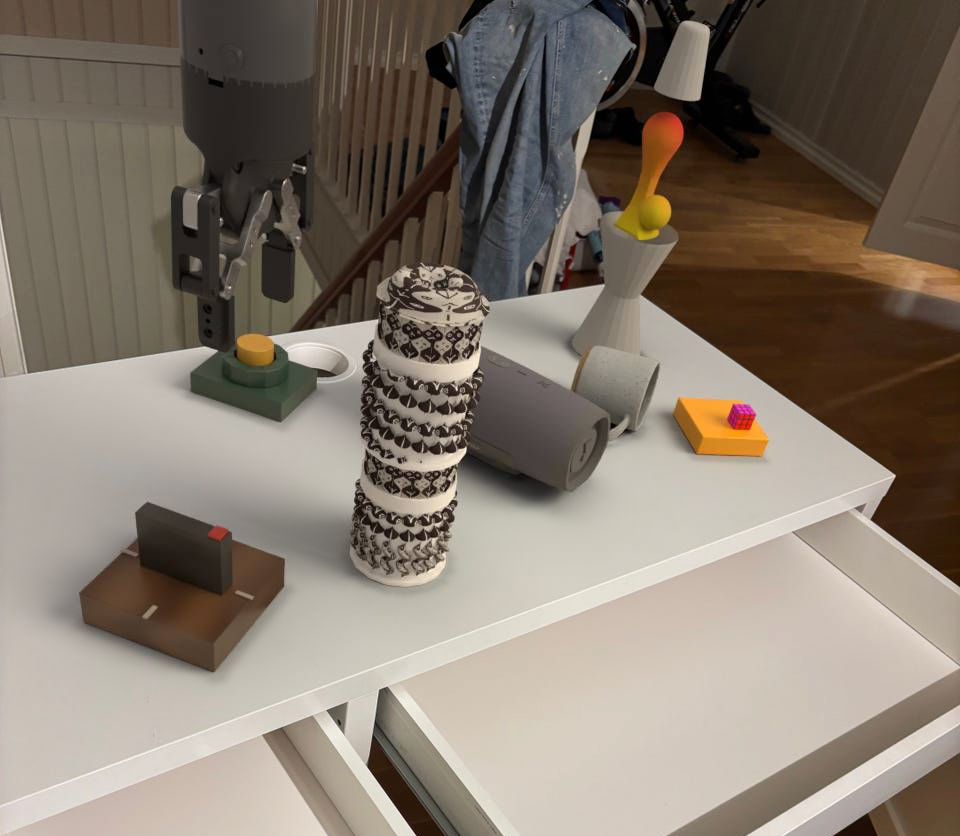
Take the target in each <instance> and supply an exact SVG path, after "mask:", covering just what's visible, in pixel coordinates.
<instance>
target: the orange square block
mask: <svg viewBox="0 0 960 836" xmlns="http://www.w3.org/2000/svg"><path fill="white" fill-rule="evenodd" d="M672 415H673V417H674V418H675V421H676V422H677V424H678V425H679V427H680V429H681V431H682V433H684V435H685V437H686V439H687V440H688V442H689V443H690V445H691V447H692V448H693V450H694V452H695V454H696V455H716V456H717V455H719V456H745V457H746V456H747V457H748V456H749V457H750V456H751V457H762V456H763V455H764V453H765V450H766V448H767V446H768V444H769V441H770V438H769V437H768V435H767V434H766V432H765V431H764V430H763V428H762V426H761V425H760V424H759V423H758V421H757V420H756V419H755V418H756V416H757V413H756V412H755V410H754V409H753V408H752V406H751V404H745V402H744V401H743V400H742V399H741V400H740V399H739V400H738V399H722V398H721V399H720V398H719V399H718V398H699V397H678V398H677V401H676V404H675V406H674V410H673V412H672Z"/></svg>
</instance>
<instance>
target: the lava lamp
mask: <svg viewBox="0 0 960 836" xmlns="http://www.w3.org/2000/svg"><path fill="white" fill-rule="evenodd" d="M710 35H711V31H710V28H709V27H708V25H705V24H703V23H701V22H698V21H693V20H684V21H682V22H681V23H680V24H679V26H678V27H677V30H676V32H675V35H674V37H673V39H672V42H671V45H670V47H669V49H668V51H667V53H666V56H665V58H664V61H663V64H662V66H661V68H660V71H659V74H658V76H657V79H656V81H655V83H654V86H653V89H654V90H655V91H656V92H657V93H659V94H661V95H663V96H666V97H668V98H672V99H674V100H676V99H677V100H679V101H680V100H681V101H687V102H696V101H700V100H701V96H702V89H703V82H704V77H705V76H704V75H705V69H706V64H707V63H706V62H707V56H708V50H709V43H710V37H711V36H710ZM641 133H642V136H641V142H642V143H641V146H642V149H641V150H642V151H641V152H642V154H641V155H642V156H641V157H642V161H641V162H642V163H641V173H640V175H639V178H638V183H637V186H636V189H635V192H634V193H633V195H632V198H631V200H630V202H629V204H627V207H626V208H625V209H624V210H620V211H619V210H618V211H617V210H616V211H609V212H607V213H604V214H602V216H601V217H600V235H601V251H602V266H603V280H604V287H603V288H602V290H601V292H600V293H599V295H598V297H597V298H596V300H595V302H594V303H593V305H592V307H591V308H590V310H589V311H588V313H587V315H586V316H585V318H584V320H583V321H582V323H581V325H580V326H579V327H578V329H577V331H576V333H575V334H574V336H573V337H572V339H571V347H572V348H573V349H574V352H576V353H577V354H578V355H579V356H580V357H582V355H583V354H584V352H585V351H586V350H587V349H588V348H589V347H591V346H604V347H609V348H613V349H616V350H620V351H624V352H628V353H632V354H636V355H640V356H641V315H640V314H641V307H640V306H641V305H640V304H641V303H640V296H641V295H642V293H643V292H644V290H645V289H646V287H647V286H648V284H649V283H650V281H651V280H652V278H653V277H654V276H655V274H656V273H657V271H658V270H659V268H660V267H661V266H662V264H663V263H664V261H665V260H666V258H667V257H668V255H669V254H670V253H671V252H672V250H673V248H674V247H675V246H676V244H677V243H678V240H679V233H678V231H677V230H676V229H675V228H674V227H673V226H671V225H670V224H668V223H669V221H670V219H671V217H672V207H671V204H670V201H669V200H668V199H667V198H666V197H664V196H662V195H660V194H655V191H656V188H657V186H658V182H659V179H660V177H661V175H662V174H663V172H664V170H665V168H666V166H667V165H668V163H669V162H670V160H671V159H672V158H673V156H674V155H675V154H676V153H677V151H678V149H679V148H680V146H681V145H682V142H683V140H684V126H683V123H682V121H681V119H680V118H679V117H678V116H677V115H676V114H674V113H672V112H670V111H669V112H668V111H660V112H657V113H655V114H653V115H652V116H651V117H649V118H648V120H647V121H646V122H645V123H644V126H643V128H642V132H641Z"/></svg>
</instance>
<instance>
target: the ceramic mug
mask: <svg viewBox="0 0 960 836" xmlns="http://www.w3.org/2000/svg"><path fill="white" fill-rule="evenodd" d="M580 357H581V358H580V360H579V362H578V365H577V367H576V369H575V372H574V375H573V379H572V382H571V388H570V390H571V391H572V392H574V393H576V394H578V395H580V396H582V397H583V398H585V399H587V400H589V401H591V402H592V403H594V404H595V405H597V406H598V407H600V408H601V409H603V410H604V411H606V412H607V413H609V414H610V419H611V424H613V425H615V427H614V428H611V429H610V435H609V441H608V443H609V442H612V441H613V440H615V439H617V438H618V437H619V436H620V435H621V434H622V433H623V432H624V430H626V429H627V430H630V431H633V432H637V431H639V429H640V427H641V426H642V424H643V422H644V420H645V418H646V415H647V413H648V411H649V408H650V406H651V403H652V401H653V397H654V394H655V390H656V387H657V383H658V379H659V376H660V372H661V361H660V360H659V359H657V358H653V357H648V356H644V355H641V354H640V355H636V354H632V353H628V352H624V351H620V350H616V349H613V348H609V347H604V346H591V347H589V348H588V349H587V350H586V351H585V352H584V354H583V355H582V356H580Z"/></svg>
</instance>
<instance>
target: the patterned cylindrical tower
mask: <svg viewBox="0 0 960 836" xmlns="http://www.w3.org/2000/svg"><path fill="white" fill-rule="evenodd" d="M376 297H377V298H378V300H379V310H378V321H377V324H376V325H375V327H374V328H375V329H374V337H373V339H371V340H370V341H369V342H368V343H367V349H365V350H364V351H363V352H362V357H361V358H362V361H363V362H364V363H363V364H362V366H361V367H362V371H363V373H364V374H365V376H363V378H362V379H361V385H362V387H363V390H362V393H361V395H360V401H361V403H362V405H361V406H360V407H359V409H360V410H359V411H360V413H361V414H362V415H363V416H362V417H361V419H360V421H359V425H360V428H361V431H360V441H361V442H362V444H363V446H364V448H365V449H364V458H363V459H362V460H361V469H360V478H358V479H357V480H356V481H355V483H354V487H355V489H356V490H355V492H354V498H353V502H354V504H355V505H354V506H353V511H352V514H351V526H350V527H351V528H350V539H349V542H350V550H349V556H350V558H351V560H352V563H353V565H354V567H355V569H357V570H358V571H359V572H360V573H361V574H363V575H364V576H365V577H367V578H368V579H370V580H373V581H376V582H378V583H380V584H383V585H385V586H393V587H402V588H409V587H415V586H421V585H426V584H427V583H429V582H431V581H433V580H435V579H437V578H438V577H439V576H440V574H441V573H442V572H443V570H444V569H445V567H446V563H447V562H446V559H447V557H446V556H447V553H449V552H450V546H448V542H449V541H450V539H452V537H453V534H452V532H451V531H450V528H452V527H453V523H454V522H455V520H456V516H455V514H454V511H455V508H457V507H458V504H459V501H458V499H457V496H458V490H457V485H458V472H457V471H458V467H459V463H460V462H461V460H462V459H463V458H464V456H465V455H466V453H467V452H466V446H467V443H468V442H469V441H470V440H471V435H470V433H469V432H470V429H471V427H472V423H473V422H474V419H475V418H474V415H473V414H472V410H471V409H473V408H475V407H476V406H477V402H479V401H480V399H481V396H480V394H479V393H478V392H479V388H480V387H481V386H482V382H483V380H484V374H483V373H482V372H481V369H480V367H479V366H478V364H479V358H480V353H481V346H482V345H481V337H482V332H483V327H484V319H485V318H486V317H487V316H488V315H489V314H490V312H491V310H490V302H489V301H488V299H487V298H486V297H485V295H484V294H483V293H482V292H481V291H480V290H479V287H478V286H477V284H476V282H474V280H473V279H472V278H471V277H470V276H469V275H468V274H466V273H465V272H463V271H461V270H460V269H458V268H455V267H452V266H449V265H445V264H441V263H434V262H414V263H410V264H406V265H403V266H402V267H400V268H399V269H398V270H397V271H395V272H394V273H393V274H392V276H389V277H386V278H385V279H384V280H382V282H380V283H379V284H377V287H376ZM374 357H375V358H374ZM371 359H372V361H371ZM472 377H474V378H473V380H472V382H471V379H472ZM468 396H469V399H468Z"/></svg>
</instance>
